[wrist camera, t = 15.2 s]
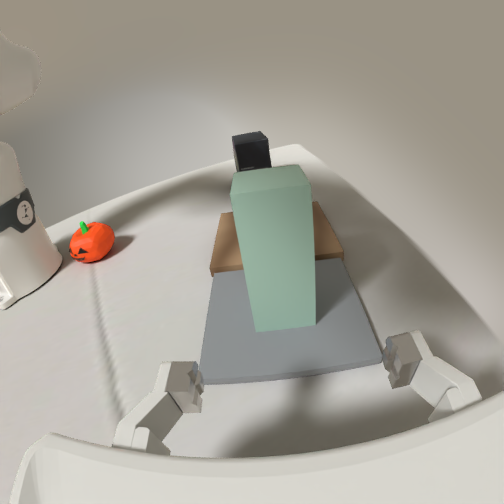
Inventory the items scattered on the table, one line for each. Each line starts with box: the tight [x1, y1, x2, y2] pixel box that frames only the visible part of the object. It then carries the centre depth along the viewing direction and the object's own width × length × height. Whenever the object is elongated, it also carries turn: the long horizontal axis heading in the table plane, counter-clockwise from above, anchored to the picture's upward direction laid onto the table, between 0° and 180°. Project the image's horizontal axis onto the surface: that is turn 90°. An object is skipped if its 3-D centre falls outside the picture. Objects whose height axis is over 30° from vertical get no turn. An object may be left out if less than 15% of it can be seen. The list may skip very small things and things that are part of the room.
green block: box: [230, 165, 316, 332], centre depth 23 cm, size 5×5×12 cm
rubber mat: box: [199, 258, 383, 385], centre depth 26 cm, size 14×14×1 cm
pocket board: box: [210, 202, 344, 277], centre depth 39 cm, size 15×15×1 cm
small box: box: [232, 131, 272, 172], centre depth 56 cm, size 11×6×10 cm, turn 6°
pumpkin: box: [69, 221, 115, 263], centre depth 41 cm, size 7×8×6 cm
